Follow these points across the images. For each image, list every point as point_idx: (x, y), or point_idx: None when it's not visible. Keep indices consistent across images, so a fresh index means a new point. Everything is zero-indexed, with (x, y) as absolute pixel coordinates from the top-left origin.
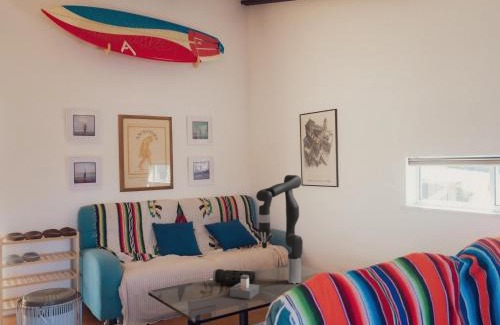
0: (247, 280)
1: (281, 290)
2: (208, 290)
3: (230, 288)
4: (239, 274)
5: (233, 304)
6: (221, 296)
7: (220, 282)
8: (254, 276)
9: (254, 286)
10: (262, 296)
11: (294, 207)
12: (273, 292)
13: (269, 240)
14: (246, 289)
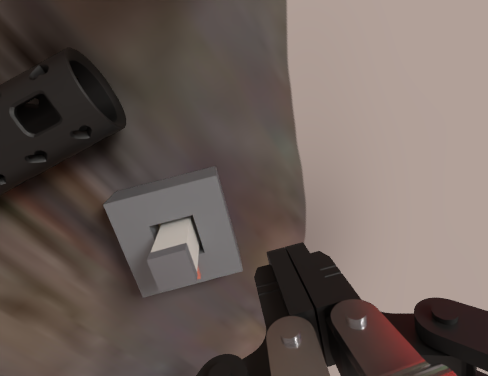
0: (193, 256)
1: (280, 63)
2: (14, 281)
3: (146, 296)
4: (31, 164)
5: (228, 323)
6: (125, 296)
7: None
8: (74, 55)
9: (212, 206)
10: (258, 194)
11: None
12: (266, 117)
13: (470, 323)
14: (214, 263)
